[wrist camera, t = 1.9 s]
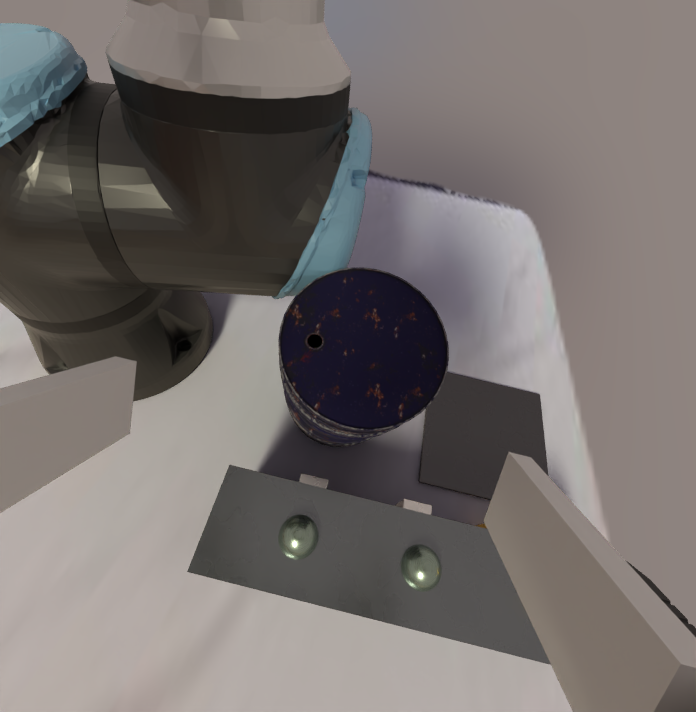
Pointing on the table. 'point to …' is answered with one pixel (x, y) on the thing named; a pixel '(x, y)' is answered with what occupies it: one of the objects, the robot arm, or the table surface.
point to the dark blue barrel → (360, 355)
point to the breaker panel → (391, 530)
